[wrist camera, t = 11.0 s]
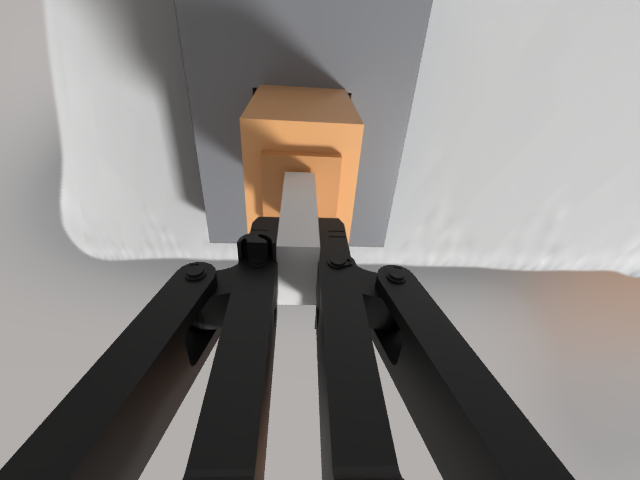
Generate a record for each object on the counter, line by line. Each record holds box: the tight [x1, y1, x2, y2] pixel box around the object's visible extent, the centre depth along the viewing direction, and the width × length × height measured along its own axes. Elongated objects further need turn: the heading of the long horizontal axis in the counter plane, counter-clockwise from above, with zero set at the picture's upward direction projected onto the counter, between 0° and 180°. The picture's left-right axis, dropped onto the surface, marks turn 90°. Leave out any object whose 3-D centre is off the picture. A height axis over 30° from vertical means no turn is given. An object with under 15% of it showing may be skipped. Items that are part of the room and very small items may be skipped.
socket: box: [174, 0, 433, 247], centre depth 27 cm, size 20×16×4 cm
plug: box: [239, 85, 364, 243], centre depth 23 cm, size 7×6×12 cm
